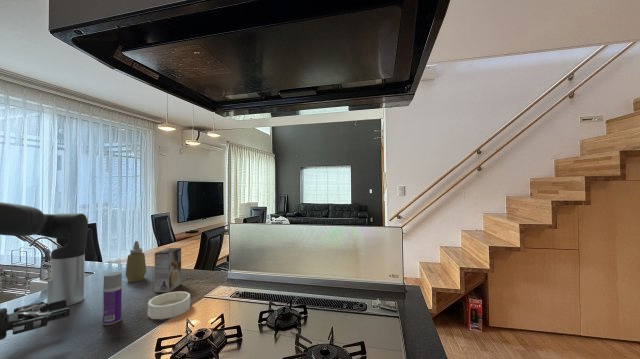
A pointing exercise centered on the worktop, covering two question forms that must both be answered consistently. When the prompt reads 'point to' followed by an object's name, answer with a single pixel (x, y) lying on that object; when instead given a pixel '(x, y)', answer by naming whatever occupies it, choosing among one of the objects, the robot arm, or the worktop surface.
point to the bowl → (168, 305)
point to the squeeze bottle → (136, 264)
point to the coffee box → (167, 269)
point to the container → (112, 298)
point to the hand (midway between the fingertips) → (67, 307)
